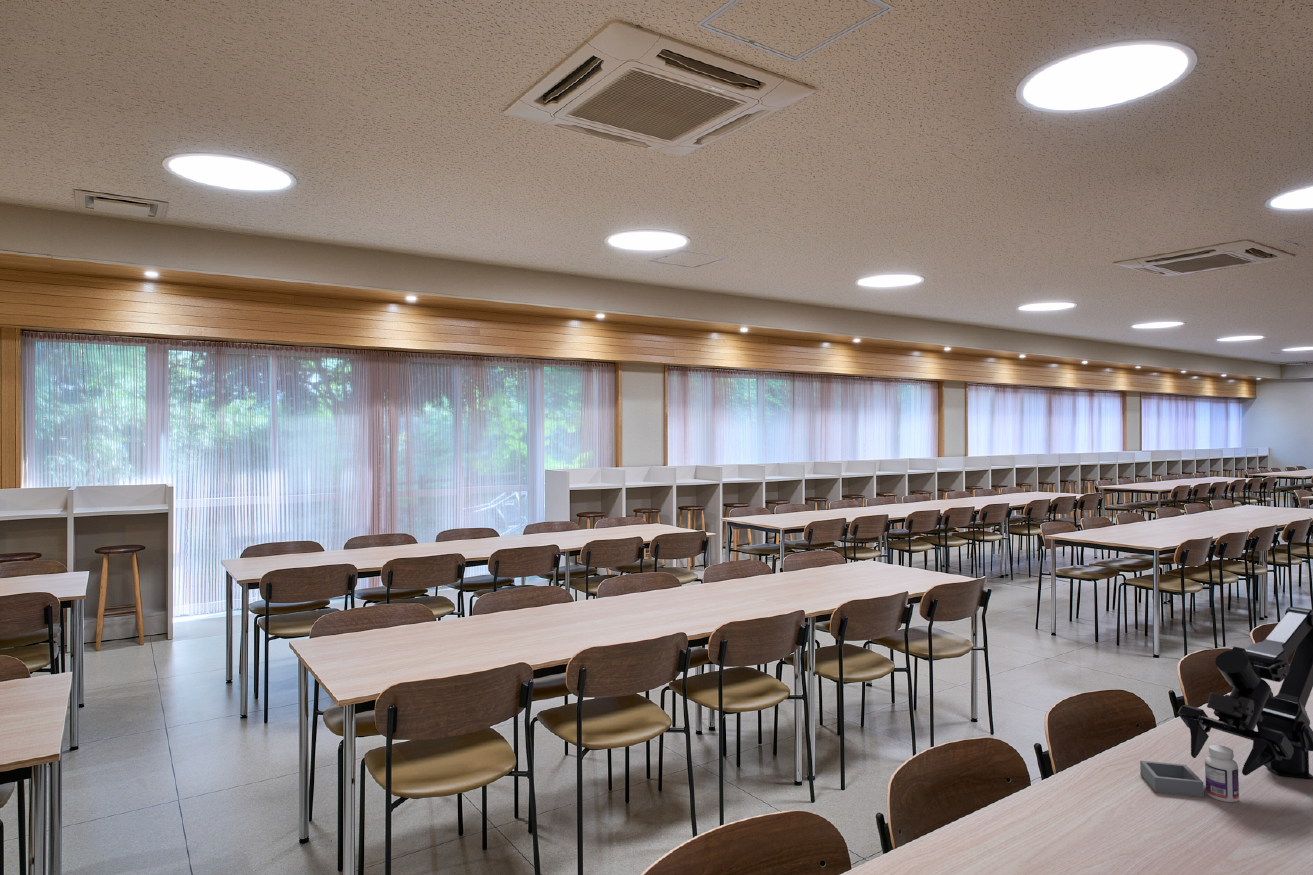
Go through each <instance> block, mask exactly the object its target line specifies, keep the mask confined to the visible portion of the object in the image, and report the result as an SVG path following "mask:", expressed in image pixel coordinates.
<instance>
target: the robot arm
mask: <svg viewBox="0 0 1313 875" xmlns="http://www.w3.org/2000/svg"><path fill="white" fill-rule="evenodd" d="M1292 654H1293V656H1292V658H1291V661H1290V663H1289V658H1290V657H1291V655H1292ZM1214 663H1215V666H1216V667H1217V669H1218V671H1220V673H1221V675H1222V676H1223V677H1224V680H1225V681H1226V682H1227V683H1228V685H1229V686H1231V687H1232V690H1231V692H1230V693H1229V694H1225V695H1224V694H1223V695H1222V694H1219V693H1215V692H1211V691H1210V693H1209V696H1208V700H1207V704H1206V707H1207V708H1208V709H1212V710H1213V714H1214V716H1215V717H1218V719H1215V718H1213V717H1209V716H1208V714H1207V713H1206V711H1204V709H1203V708H1199V707H1195V706H1192V705H1188V704H1184V705H1181V706H1180V708H1179V710H1178V711H1177V715H1178V716H1179V717H1180V719H1181V720H1182V721H1183V723H1184V725H1185V727H1187V728H1188V729H1189V733H1190V755H1191V757H1192V758H1193V759H1196V758H1197V757H1198V756H1199V754H1200V753H1201V751H1202V750H1203V747H1204V746H1205V744H1206V743H1207V741H1208V740H1209V737H1210V736H1209V735H1208V733H1210V732H1211V730H1212V729H1214V730H1217V731H1221V732H1224V733H1227V734H1230V735H1233V736H1236V737H1241V738H1244V739H1247V740H1250V741H1252V748H1251V751H1250V753H1249V754H1248V756H1247V758H1246V760H1245V762H1244V764H1243V766H1242V769H1241V770H1242V771H1241V773H1242V775H1243V776H1248V775H1250V774H1252V773H1253V772H1254V771H1256V770H1257V769H1259V768H1261V767H1263V766H1265V767H1267V768H1269V769H1270V771H1272V772H1274V773H1275V774H1276V775H1277V776H1281V777H1293V778H1301V779H1303V778H1304V779H1313V774H1312V773H1310V758H1309V756H1310V754H1309V753H1310V752H1313V729H1312V727H1311V720H1310V717H1309V716H1308V713H1307V711H1306V706H1307V703H1308V701H1309V698H1310V696H1311V692H1312V690H1313V609H1311V608H1305V607H1299V606H1297V607H1296V606H1291V607H1287V608H1286V610H1285V612H1284V616H1283V617H1282V618H1281V620H1280V621H1279V622H1278V623H1277V625H1276V626H1275V627H1273V629H1272V631H1271V632H1270V633H1269V634H1268V635H1267V636H1266V637H1265V639H1264V640H1262V641H1259V642H1256V643H1255V642H1254V643H1252V644H1250V645H1249V646H1248V647H1246V648H1243V647H1238V646H1235V645H1234V646H1233V647H1232V648H1231V650H1226V651H1224V652H1221V653H1220V654H1219V655H1217V656H1216V658H1215V662H1214ZM1266 680H1268V681H1272V682H1276V683H1280V682H1282V683H1281V686H1280V688H1279V690H1278V693H1277V694H1276V695H1274V693H1273V691H1272V688H1271V685H1270V684H1269V683H1268V682H1267V681H1266ZM1255 728H1257V731H1256V730H1255Z"/></svg>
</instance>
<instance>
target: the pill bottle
mask: <svg viewBox="0 0 1313 875" xmlns="http://www.w3.org/2000/svg"><path fill="white" fill-rule="evenodd" d="M1208 754H1209V755H1207V756H1206V757H1204V758H1205V759H1204V767H1205V768H1204V770H1205V771H1204V772H1205V774H1204V775H1205V792H1206V795H1207V796H1209V797H1211V798H1212V799H1214V800H1218V801H1221V802H1225V803H1235V802H1236V803H1237V802H1238V801H1239V799H1240V785H1239V784H1240V782H1239V779H1240V778H1239V765H1238V763H1237V762H1236V760H1234V757H1235V754H1234V750H1233V749H1232V748H1230V747H1227V746H1225V745H1218V744H1212V745H1211V744H1210V745H1209V746H1208Z"/></svg>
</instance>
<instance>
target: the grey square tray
mask: <svg viewBox="0 0 1313 875" xmlns="http://www.w3.org/2000/svg"><path fill="white" fill-rule="evenodd" d="M1139 763H1140V765H1139V766H1140V771H1139V772H1140V776H1141V775H1142V776H1141V777H1142V778H1143V777H1144V778H1143V779H1144V781H1147V782H1146V783H1147V784H1148V785H1149V786H1150V788H1151V789H1152V790H1153V792H1154V793H1158V792H1159V793H1160V794H1169V795H1170V794H1171V795H1178V796H1189V797H1199V798H1205V796H1204V795H1205V794H1204V793H1205V792H1204V791H1205V790H1204V781H1203V780H1202V779H1201V778H1200V777H1199V776H1198V775H1197V774H1196V773H1195V772H1194V771H1192V769H1191V768H1189V766H1187V764H1180V763H1171V762H1161V761H1160V762H1159V761H1150V760H1149V761H1148V760H1140V761H1139Z"/></svg>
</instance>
